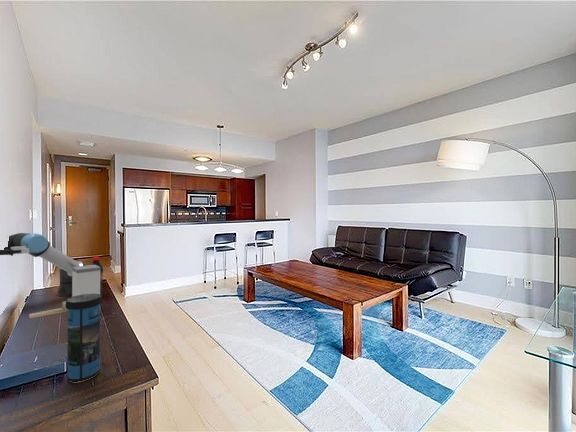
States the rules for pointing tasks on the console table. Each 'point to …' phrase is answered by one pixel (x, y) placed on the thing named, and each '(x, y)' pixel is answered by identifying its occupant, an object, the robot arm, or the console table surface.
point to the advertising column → (83, 336)
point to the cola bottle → (96, 262)
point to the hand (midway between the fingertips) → (27, 249)
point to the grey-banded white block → (85, 280)
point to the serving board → (49, 311)
